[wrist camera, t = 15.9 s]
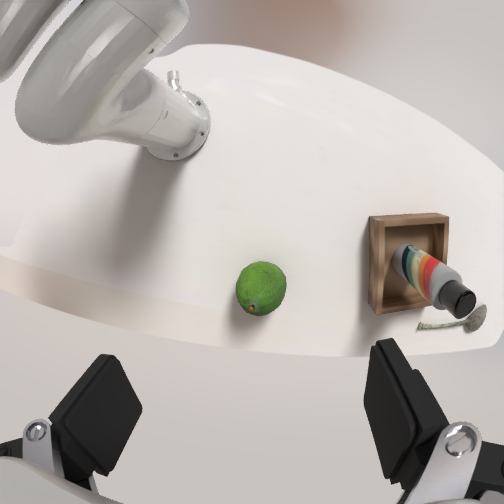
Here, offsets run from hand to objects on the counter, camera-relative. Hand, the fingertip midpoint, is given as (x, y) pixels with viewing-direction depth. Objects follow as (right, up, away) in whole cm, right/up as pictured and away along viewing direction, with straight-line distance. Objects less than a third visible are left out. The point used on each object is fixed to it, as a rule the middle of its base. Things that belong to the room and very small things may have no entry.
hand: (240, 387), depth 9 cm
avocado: (+2, +1, +39) cm, 39 cm away
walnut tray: (+28, +4, +35) cm, 45 cm away
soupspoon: (+46, -10, +38) cm, 60 cm away
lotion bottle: (+28, +4, +34) cm, 44 cm away
